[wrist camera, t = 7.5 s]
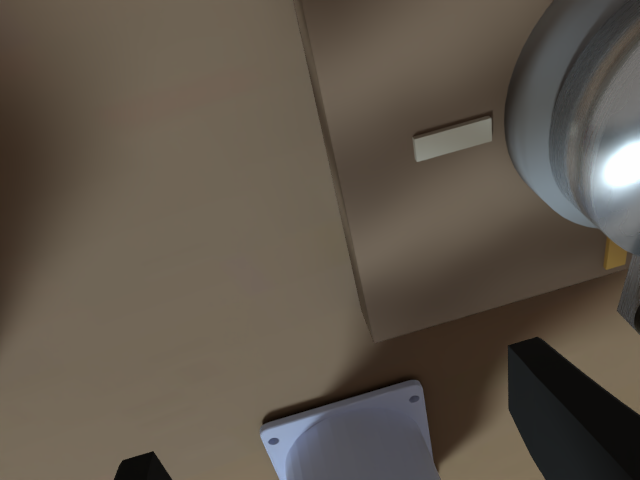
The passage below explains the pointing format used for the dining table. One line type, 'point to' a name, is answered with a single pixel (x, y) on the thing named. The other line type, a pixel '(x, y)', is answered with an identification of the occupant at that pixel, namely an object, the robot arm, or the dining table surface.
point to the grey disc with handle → (605, 141)
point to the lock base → (451, 151)
